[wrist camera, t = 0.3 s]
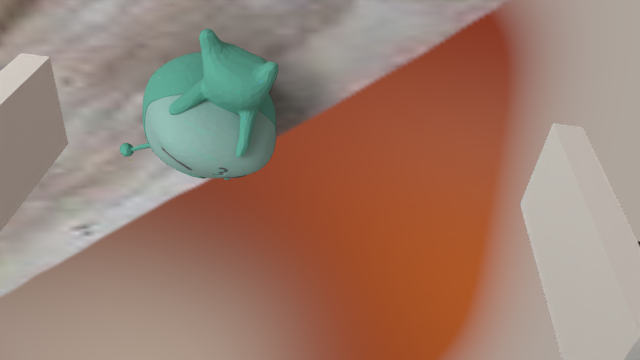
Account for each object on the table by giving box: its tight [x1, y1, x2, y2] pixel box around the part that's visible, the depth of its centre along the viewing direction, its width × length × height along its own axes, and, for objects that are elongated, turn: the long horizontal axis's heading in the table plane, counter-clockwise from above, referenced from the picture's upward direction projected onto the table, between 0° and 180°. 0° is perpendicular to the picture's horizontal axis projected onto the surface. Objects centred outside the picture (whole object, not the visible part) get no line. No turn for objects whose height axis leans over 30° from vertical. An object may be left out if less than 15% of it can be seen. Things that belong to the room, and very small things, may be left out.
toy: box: [120, 29, 278, 180], centre depth 41 cm, size 10×10×15 cm
